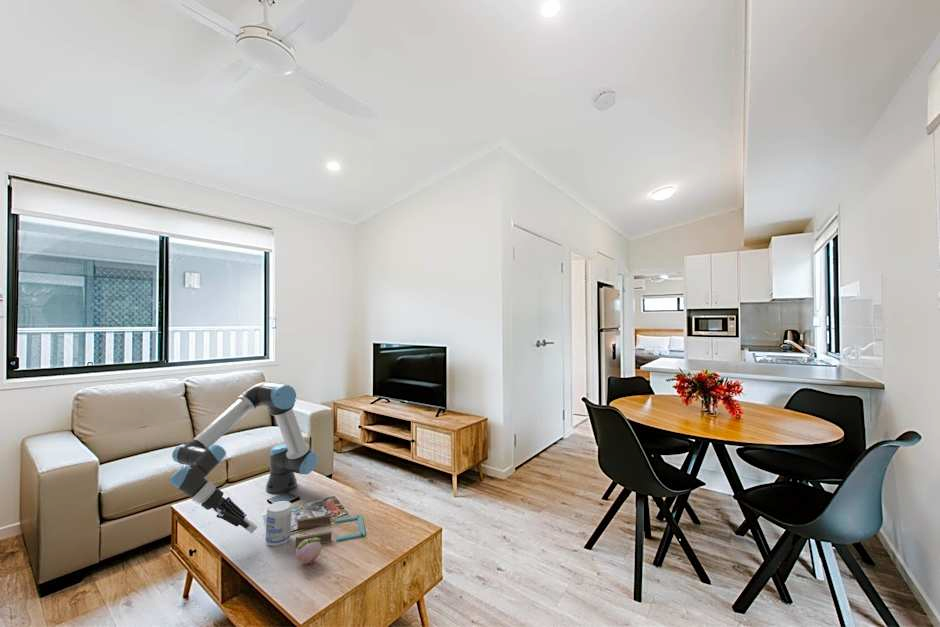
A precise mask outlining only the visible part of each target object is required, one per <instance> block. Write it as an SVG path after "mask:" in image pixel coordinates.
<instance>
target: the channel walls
mask: <svg viewBox="0 0 940 627" xmlns="http://www.w3.org/2000/svg"><path fill="white" fill-rule="evenodd" d="M331 518H332V517H331V514H326V515H319V516H311V517H307V518H301V519H297V522H296V523H297V524H296V525H297V526H296V530H300V528H302V529H307V528H312V527H319V526H326V525H330V524H331V521H332V520H331ZM332 534H333V533H332V531H326V532H321V533H314V534H308V535H303V536H296V537H295V544H294V546H295V549H296V548H297V547H298V545H299V544H300V543H301V542H302V541H304V540H306V539H308V538H314V537H317V538H320V539H321V540H319V542H320V544H325V543H331V542H332V537H333V536H332Z"/></svg>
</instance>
